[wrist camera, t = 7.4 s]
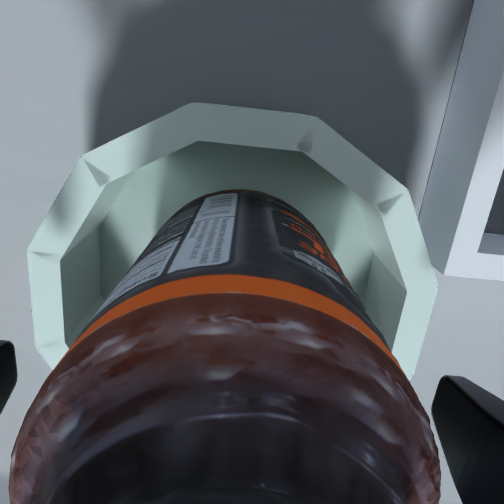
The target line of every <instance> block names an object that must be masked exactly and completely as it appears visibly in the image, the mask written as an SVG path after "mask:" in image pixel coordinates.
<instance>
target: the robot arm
mask: <svg viewBox="0 0 504 504" xmlns="http://www.w3.org/2000/svg"><path fill="white" fill-rule="evenodd" d="M16 382H17V366H16V357H15V348H14V345H13V343H12V342H10V341H6V340H0V414H1V412H2V411H3V409H4V407H5V405H6V403H7V401H8V399H9V397H10V395H11V393H12V391H13V389H14V387H15V385H16ZM431 414H432V419H433V422H434V425H435V428H436V431H437V434H438V437H439V440H440V443H441V446H442V449H443V452H444V455H445V458H446V461H447V464H448V467H449V470H450V473H451V476H452V478H453V481H454V484H455V486H456V489H457V491H458V494H459V496H460V498H461V501H462V503H463V504H504V401H503V400H501V399H500V398H498V397H496V396H495V395H493V394H491V393H490V392H488V391H486V390H485V389H483V388H481V387H480V386H478V385H476V384H475V383H473V382H471V381H470V380H468V379H466V378H464V377H461V376H450V375H445V376H443V377H442V378H441V379H440V381H439V384H438V387H437V390H436V393H435V396H434V400H433V403H432V407H431Z"/></svg>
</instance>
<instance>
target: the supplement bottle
mask: <svg viewBox="0 0 504 504" xmlns="http://www.w3.org/2000/svg"><path fill="white" fill-rule="evenodd" d="M440 481H441V470H440V460H439V457H438V448H437V445H436V443H435V440H434V434H433V432H432V430H431V428H430V419H429V416H428V415H427V413H426V411H425V410H424V408H423V406H422V404H421V403H420V401H419V399H418V396H417V394H416V393H415V391H414V389H413V387H412V386H411V384H410V382H409V380H408V378H407V377H406V375H405V373H404V372H403V370H402V369H401V367H400V364H399V363H398V361H397V359H396V358H395V357H394V356H393V354H392V353H391V351H390V349H389V346H388V344H387V342H386V340H385V338H384V336H383V334H382V333H381V332H380V330H379V329H378V327H377V326H376V325H375V323H374V321H373V320H372V318H371V316H370V314H369V313H368V311H367V309H366V307H365V306H364V304H363V303H362V301H361V300H360V298H359V296H358V295H357V294H356V293H355V291H354V290H353V288H352V286H351V284H350V282H349V281H348V279H347V278H346V277H345V275H344V273H343V271H342V269H341V267H340V265H339V263H338V262H337V260H336V259H335V258H334V256H333V254H332V253H331V251H330V249H329V247H328V246H327V244H326V242H325V240H324V238H323V237H322V236H321V234H320V233H319V231H318V230H317V229H316V228H315V226H314V225H313V224H312V223H311V222H310V221H309V220H308V219H307V218H306V217H305V216H304V215H303V214H301V213H300V212H299V211H298V210H297V209H295V208H294V207H293V206H291V205H290V204H288V203H286V202H285V201H283V200H281V199H279V198H277V197H274V196H272V195H269V194H266V193H264V192H260V191H253V190H247V189H234V190H222V191H218V192H214V193H210V194H206V195H204V196H201V197H199V198H197V199H194V200H192V201H191V202H189V203H187V204H186V205H184V206H183V207H182V208H181V209H180V210H178V211H177V212H176V213H175V214H174V215H173V216H172V217H171V218H170V219H169V220H168V221H167V222H166V223H165V224H164V225H163V226H162V227H161V228H160V229H159V231H158V232H157V234H156V235H155V236H154V237H153V238H152V240H151V241H150V242H149V244H148V245H147V247H146V248H145V249H144V251H143V252H142V253H141V254H140V256H139V257H138V258H137V260H136V261H135V263H134V264H133V265H132V266H131V268H130V269H129V271H128V272H127V273H126V274H125V276H124V277H123V278H122V280H121V281H120V282H119V283H118V285H117V286H116V288H115V289H114V290H113V291H112V293H111V294H110V296H109V297H108V298H107V299H106V301H105V302H104V303H103V304H102V306H101V307H100V309H99V310H98V311H97V312H96V313H95V315H94V316H93V318H92V319H91V320H90V322H89V323H88V324H87V325H86V327H85V328H84V329H83V330H82V332H81V333H80V335H79V336H78V337H77V339H76V340H75V342H74V343H73V345H72V346H71V347H70V349H69V350H68V351H67V352H66V354H65V355H64V356H63V358H62V359H61V360H60V362H59V363H58V364H57V365H56V367H55V368H54V369H53V371H52V372H51V373H50V375H49V376H48V377H47V379H46V380H45V382H44V384H43V385H42V387H41V389H40V391H39V392H38V394H37V396H36V398H35V399H34V401H33V403H32V404H31V406H30V408H29V410H28V411H27V413H26V416H25V418H24V421H23V423H22V426H21V428H20V431H19V433H18V436H17V439H16V441H15V444H14V448H13V451H12V454H11V466H10V476H9V496H10V504H439V500H440V497H441V494H440V485H441V484H440Z"/></svg>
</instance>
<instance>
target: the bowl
mask: <svg viewBox="0 0 504 504" xmlns="http://www.w3.org/2000/svg"><path fill="white" fill-rule="evenodd" d="M234 189H247V190H253V191H260V192H264V193H266V194H269V195H272V196H274V197H277V198H279V199H281V200H283V201H285V202H286V203H288V204H290V205H291V206H293V207H294V208H295V209H297V210H298V211H299V212H300V213H301V214H303V215H304V216H305V217H306V218H307V219H308V220H309V221H310V222H311V223H312V224H313V225H314V226H315V228H316V229H317V230H318V231H319V233H320V234H321V236H322V237H323V238H324V240H325V242H326V244H327V246H328V247H329V249H330V251H331V253H332V254H333V256H334V258H335V259H336V260H337V262H338V263H339V265H340V267H341V269H342V271H343V273H344V275H345V277H346V278H347V279H348V281H349V282H350V284H351V286H352V288H353V290H354V291H355V293H356V294H357V295H358V296H359V298H360V300H361V301H362V303H363V304H364V306H365V307H366V309H367V311H368V313H369V314H370V316H371V318H372V320H373V321H374V323H375V325H376V326H377V327H378V329H379V330H380V332H381V333H382V334H383V336H384V338H385V340H386V342H387V344H388V346H389V349H390V351H391V353H392V354H393V356H394V357H395V358H396V359H397V361H398V363H399V364H400V367H401V369H402V370H403V372H404V373H405V375H406V377H407V378H408V380H410V379H411V378H412V376H413V375H414V372H415V368H416V365H417V361H418V358H419V354H420V351H421V347H422V344H423V340H424V337H425V334H426V330H427V327H428V323H429V320H430V316H431V313H432V309H433V306H434V302H435V299H436V295H437V292H438V289H439V288H438V287H439V286H438V283H437V280H436V276H435V273H434V270H433V267H432V264H431V260H430V257H429V254H428V251H427V248H426V244H425V241H424V238H423V235H422V232H421V228H420V225H419V222H418V219H417V216H416V212H415V209H414V206H413V203H412V200H411V196H410V193H409V190H407V188H406V187H404V186H403V185H402V184H401V183H399V182H398V181H397V180H396V179H394V178H393V177H392V176H391V175H389V174H388V173H387V172H386V171H384V170H383V169H382V168H381V167H379V166H378V165H377V164H376V163H374V162H373V161H372V160H371V159H369V158H368V157H367V156H366V155H364V154H363V153H362V152H361V151H359V150H358V149H357V148H356V147H354V146H353V145H352V144H351V143H349V142H348V141H347V140H346V139H344V138H343V137H342V136H341V135H339V134H338V133H337V132H336V131H334V130H333V129H332V128H331V127H329V126H328V125H327V124H326V123H324V122H323V121H322V120H321V119H319V118H318V117H316V116H311V115H306V114H300V113H292V112H283V111H274V110H265V109H256V108H247V107H238V106H229V105H220V104H211V103H189V104H187V105H184V106H182V107H180V108H178V109H176V110H174V111H172V112H170V113H168V114H166V115H164V116H162V117H160V118H158V119H156V120H154V121H151V122H149V123H147V124H145V125H143V126H141V127H139V128H137V129H135V130H133V131H131V132H129V133H127V134H125V135H123V136H121V137H118V138H116V139H114V140H112V141H110V142H108V143H106V144H104V145H102V146H100V147H98V148H96V149H94V150H92V151H90V152H88V153H85V154H83V155H81V156H80V158H79V159H78V161H77V163H76V165H75V166H74V168H73V170H72V172H71V173H70V175H69V177H68V179H67V180H66V182H65V184H64V186H63V187H62V189H61V191H60V193H59V194H58V196H57V198H56V200H55V201H54V203H53V205H52V207H51V208H50V210H49V212H48V214H47V215H46V217H45V219H44V220H43V222H42V224H41V226H40V227H39V229H38V231H37V233H36V234H35V236H34V238H33V240H32V241H31V243H30V245H29V247H28V248H27V260H28V271H29V282H30V293H31V304H32V315H33V326H34V337H35V347H36V349H37V350H38V351H39V353H40V354H41V355H42V357H43V358H44V359H45V361H46V362H47V364H48V365H49V366H50V368H51V369H52V370H53V369H54V368H55V367H56V365H57V364H58V363H59V362H60V360H61V359H62V358H63V356H64V355H65V354H66V352H67V351H68V350H69V349H70V347H71V346H72V345H73V343H74V342H75V340H76V339H77V337H78V336H79V335H80V333H81V332H82V330H83V329H84V328H85V327H86V325H87V324H88V323H89V322H90V320H91V319H92V318H93V316H94V315H95V313H96V312H97V311H98V310H99V309H100V307H101V306H102V304H103V303H104V302H105V301H106V299H107V298H108V297H109V296H110V294H111V293H112V291H113V290H114V289H115V288H116V286H117V285H118V283H119V282H120V281H121V280H122V278H123V277H124V276H125V274H126V273H127V272H128V271H129V269H130V268H131V266H132V265H133V264H134V263H135V261H136V260H137V258H138V257H139V256H140V254H141V253H142V252H143V251H144V249H145V248H146V247H147V245H148V244H149V242H150V241H151V240H152V238H153V237H154V236H155V235H156V234H157V232H158V231H159V229H160V228H161V227H162V226H163V225H164V224H165V223H166V222H167V221H168V220H169V219H170V218H171V217H172V216H173V215H174V214H175V213H176V212H177V211H178V210H180V209H181V208H182V207H183V206H184V205H186V204H187V203H189V202H191V201H192V200H194V199H197V198H199V197H201V196H204V195H206V194H210V193H214V192H218V191H222V190H234Z"/></svg>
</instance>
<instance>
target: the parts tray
mask: <svg viewBox="0 0 504 504" xmlns="http://www.w3.org/2000/svg"><path fill="white" fill-rule="evenodd" d="M503 169H504V0H474V4H473V7H472V11H471V15H470V19H469V23H468V27H467V31H466V35H465V39H464V43H463V47H462V51H461V55H460V59H459V63H458V66H457V70H456V74H455V78H454V82H453V86H452V90H451V94H450V98H449V102H448V106H447V110H446V114H445V118H444V122H443V125H442V129H441V133H440V137H439V141H438V145H437V149H436V153H435V157H434V161H433V165H432V169H431V173H430V177H429V181H428V184H427V188H426V192H425V196H424V200H423V204H422V208H421V212H420V216H419V220H418V222H419V225H420V228H421V232H422V235H423V238H424V241H425V244H426V248H427V251H428V254H429V257H430V260H431V264H432V266H433V267H435V268H436V269H437V270H438V271H439V272H440V273H442V274H443V275H446V276H457V277H468V278H479V279H490V280H501V281H504V235H502V234H492V233H483V232H484V229H485V226H486V223H487V220H488V217H489V213H490V210H491V207H492V204H493V201H494V197H495V194H496V191H497V188H498V185H499V182H500V178H501V175H502V172H503Z"/></svg>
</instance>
